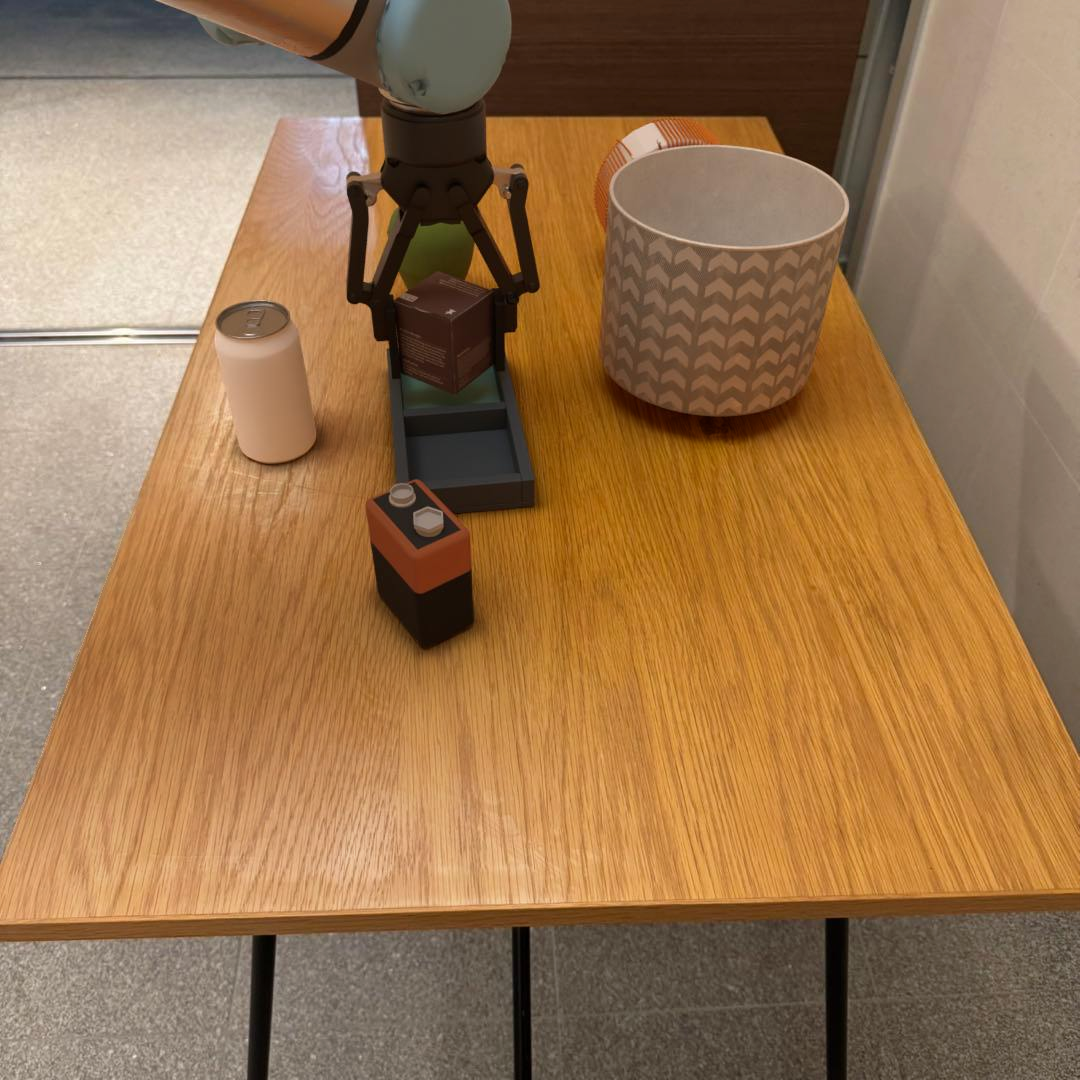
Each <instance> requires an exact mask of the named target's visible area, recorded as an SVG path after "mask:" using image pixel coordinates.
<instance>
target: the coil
mask: <svg viewBox="0 0 1080 1080" xmlns="http://www.w3.org/2000/svg"><path fill="white" fill-rule="evenodd" d="M691 145H723V143H721V141H720V140H719V139H718V138H717V136H716V135H715V134H714V133H713V132H712V131H711V130H710V129H708V128H707V127H706V126H704V125H703V124H701V123H699V122H697V121H693V120H692V119H689V118H685V117H682V118H681V117H680V116H679V117H676V116H674V117H672V116H670V117H668V116H666V117H665V118H664V117H661V118H659V117H658V118H657V119H656V118H653V120H652V122H650V123H647V124H645V125H642V126H641V127H638V128H636V129H634V130H633V131H632V132H630V133H629V134H628V135H626V136H625V137H623V138H622V139H620V138H617V139H616V142H615V143H614V146H613V145H612V146H611V149H609V150H608V153H606V156H605V157H603V160H602V161H601V164H600V166H599V169H598V172H597V174H596V175H597V176H596V178H595V182H594V184H595V185H594V189H593V192H594V193H593V196H594V198H593V200H594V205H595V206H594V207H595V212H596V216H597V218H598V220H599V223H600V225H601V227H602V229H603V231H604V233H605V234H606V229H607V213H608V197H609V185H610V182H611V179H612V177H613V175H614V174H615V173H616V172H617V171H618V170H619V169H620V168H621V167H622V166H623V165H625V164H626V163H628V162H630V161H631V160H633V159H635V158H637V157H640V156H642V155H645V154H648V153H651V152H654V151H658V150H663V149H667V148H673V147H681V146H691Z"/></svg>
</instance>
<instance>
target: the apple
mask: <svg viewBox="0 0 1080 1080" xmlns="http://www.w3.org/2000/svg"><path fill="white" fill-rule="evenodd" d="M398 207H399V206H397V207H396V208H395V209H394V210H393V212H392V214H391V216H390V219H389V223H388V226H387V230H386V235H387V238H388V237H389V235H390V232H391V229H392V227H393V224H394V222H395V218H396V213H397V210H398ZM474 251H475V242H474V240H473V238H472V236H471V235H470V234H469V232H468V230H467V228H466V227H465V225H464V223H463V221H461V224H453V225H450V224H445V223H438V224H434V225H431V226H420V223H419V225H418V228H417V230H416V233H415V235H414V237H413V239H411V241H410V244H409V247H408V249H407V252H406V254H405V257H404V259H403V262H402V264H401V267H400V269H399V272H398V275H399V276H400V278H401V280H402V282H403V285H404V286H405V288H406V291H408V290H409V289H411V288H412V287H414V286H416V285H417V284H419V283H420V282H422V281H423V280H425V279H426V278H428V277H429V276H431V275H432V274H434V273H436V272H437V271H439V272H442V273H445V274H447V275H450V276H453V277H456V278H459V279H461V280H464V281H466V279H467V276H468V274H469V270H470V269H471V264H472V261H473V256H474Z"/></svg>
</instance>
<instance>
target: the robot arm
mask: <svg viewBox="0 0 1080 1080" xmlns="http://www.w3.org/2000/svg"><path fill="white" fill-rule="evenodd" d="M155 1H157V2H159V3H161V4H164V5H166V6H168V7H171V8H175V9H177V10H180V11H182V12H185V13H187V14H190V15H193V16H195V17H196V19H197V20H198V23H199V24H200V25H201V27H202V28H203V30H204V31H205V32H206V33H207V34H208V35H209V36H210V37H211V38H212V39H213V40H214V41H215V42H217V43H219V44H221V45H223V46H226V47H236V46H237V47H238V46H245V45H246V46H247V45H253V44H255V45H258V46H259V47H260V46H264V45H266V44H268V45H271V46H274V47H277V48H279V49H281V50H285V51H286V52H290V53H292V54H295V55H297V56H300V57H303V58H306V60H308V61H310V62H313V63H315V64H317V65H320V66H323V67H325V68H328V69H331V70H333V71H335V72H339V73H341V74H344V75H346V76H349V77H352V78H355V79H357V80H359V81H362V82H365V83H367V84H368V85H371V86H374V87H376V88H378V90H379V92H380V94H381V95H382V96H383V99H382V100H381V102H380V116H381V117H380V118H381V127H382V139H383V151H384V158H383V163H382V164H381V167H380V169H379V171H377V172H372V173H367V174H363V175H362V174H361V173H360V172H358V171H355V170H354V171H349V172H348V173H347V175H346V177H345V180H346V181H345V184H346V185H345V186H346V187H345V189H346V196H347V200H348V203H349V206H350V210H351V217H350V230H349V243H348V255H347V265H346V266H347V267H346V280H345V284H346V285H345V287H346V289H345V290H346V291H345V293H346V300H347V302H348V303H349V304H351V305H358V304H362V305H366V306H367V307H368V308H369V310H370V314H371V322H372V332H373V337H374V339H375V341H376V342H377V343H378V342H388V348H389V351H390V361H391V371H392V379H401V372H400V360H399V350H398V338H397V328H396V318H395V307H394V302H393V301H394V300H395V298H394V294H393V293H391V291H392V289H393V287H394V285H395V281H396V280H397V276H398V275H399V269H400V267H401V264H402V262H403V259H404V257H405V254H406V252H407V249H408V247H409V244H410V241H411V239H413V237H414V235H415V233H416V230H417V228H418V225H419V223H420V226H431V225H434V224H438V223H445V224H450V225H453V224H461V221H463V223H464V225H465V227H466V228H467V230H468V232H469V234H470V235H471V236H472V238H473V240H474V242H475V243H474V245H476V248H477V249H478V251H479V253H480V255H481V257H482V259H483V261H484V263H485V265H486V266H487V269H488V271H489V273H490V274H491V276H492V278H493V280H494V282H495V284H496V286H497V287H491V289H490V290H493V304H494V352H495V354H494V355H495V367H496V372H500V371H505V354H506V334H509V333H511V334H512V333H516V331H517V328H518V304H519V303H520V297H521V296H522V295H524V294H526V293H529V294H536V293H537V292H538V291H539V290H540V288H541V284H540V283H541V282H540V278H539V274H538V273H539V272H538V268H537V267H538V266H537V262H536V257H535V252H534V246H533V241H532V237H531V229H530V226H529V221H528V214H527V209H526V203H527V197H528V192H529V188H530V187H529V186H530V181H529V179H528V176H527V173H526V170H525V168H524V166H523V165H522V164H521V163H514V164H512V165H511V166H510V167H502V166H493V165H492V162H491V161H490V159H489V157H488V148H487V147H488V146H487V144H488V143H487V103H486V100H485V99H484V96H485V95H487V93H488V92H489V91H490V90H491V88H492V87H493V86H494V84H495V83H496V81H497V80H498V78H499V76H500V73H502V69H503V65H504V64H505V63H506V58H507V54H508V52H509V48H510V45H511V39H512V26H513V25H512V24H513V23H512V12H511V7H510V2H509V0H155ZM492 185H494V186H496V187H497V189H498V193H499V196H500V197H501V198H502V199H504V200H506V204H507V209H508V214H509V219H510V224H511V228H512V234H513V240H514V245H515V250H516V254H517V259H518V264H519V269H520V271H518V272H516V273H514V274H513V273H512V271H511V269H510V268H509V265H508V264H507V262H506V260H505V258H504V256H503V254H502V252H501V250H500V248H499V246H498V244H497V242H496V240H495V238H494V236H493V234H492V232H491V230H490V229H489V226H488V224H487V222H486V221H485V218H484V216H483V214H482V213H481V210H480V208H479V206H478V205H479V203H480V202H481V201H482V199H483V198H484V196H485V195H486V194H487V192H488V191H489V189H490V188H491V186H492ZM383 190H384V192H385V193H386V194H387V195H388V196H389V197H390V198H391V199H392V201H393V202H394V203H395V204H396V205H397V207H398V210H397V213H396V218H395V222H394V224H393V227H392V229H391V232H390V235H389V237H388V236H387V240H386V243H385V245H384V248H383V250H382V253H381V256H380V258H379V261H378V264H377V266H376V269H375V271H374V274H373V277H372V280H371V281H369V282H367V281H364V280H365V271H366V270H365V269H366V258H367V248H368V247H367V246H368V236H369V226H370V215H369V214H370V212H369V208H370V207H373V206H375V205H376V203H377V201H378V194H379V193H380V192H381V191H383Z"/></svg>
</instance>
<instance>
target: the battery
mask: <svg viewBox="0 0 1080 1080" xmlns="http://www.w3.org/2000/svg"><path fill="white" fill-rule="evenodd" d="M364 507H365V513H366V521H367V527H368V533H369V541H370V547H371V554H372V562H373V569H374V577H375V584H376V590H377V594H378V596H379V597H380V598H381V600H382V601H383V602H384V603H385V605H387V607H388V608H389V609H390V611H391V612H392V613H393V614H394V615H395V617H396V618H397V619H398V620H399V621H400V623H401V624H402V625H403V626H404V628H405V629H406V630H407V631H408V632H409V634H410V635H411V636H412V638H413V639H414V640H415V641H416V643H418V645H420V646H421V647H422V648H425V649H427V648H429V647H432V646H433V645H436V644H438V643H440V642H442V641H443V640H445V639H448V638H449V637H452V636H453V635H455V634H457V633H459V632H462V631H463V630H465V629H467V628H469V627H471V626H472V625H474V622H475V610H474V592H473V590H474V589H473V568H472V549H471V532H470V530H469V529H468V528H467V526H466V525H465V524H464V523H463V522H462V521H461V520H460V519H459V518H458V517H457V516H456V515H455V514H453V513H452V512H451V511H450V510H449V509H448V508H447V507H446V506H445V505H444V504H443V503H442V502H441V501H440V500H439V499H438V498H437V497H436V496H435V495H434V494H433V493H432V492H431V490H430V489H429V488H428V487H427V486H426V485H425V484H424V483H423V482H421V481H420V480H418V479H415V480H412V481H410V482H408V483H400V484H397V483H396V484H394V485H392V486H391V488H390V489H389V490H386V491H384V492H382V493H380V494H377V495H374V496H372V497H370V498H367V499H366V501H365V506H364Z"/></svg>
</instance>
